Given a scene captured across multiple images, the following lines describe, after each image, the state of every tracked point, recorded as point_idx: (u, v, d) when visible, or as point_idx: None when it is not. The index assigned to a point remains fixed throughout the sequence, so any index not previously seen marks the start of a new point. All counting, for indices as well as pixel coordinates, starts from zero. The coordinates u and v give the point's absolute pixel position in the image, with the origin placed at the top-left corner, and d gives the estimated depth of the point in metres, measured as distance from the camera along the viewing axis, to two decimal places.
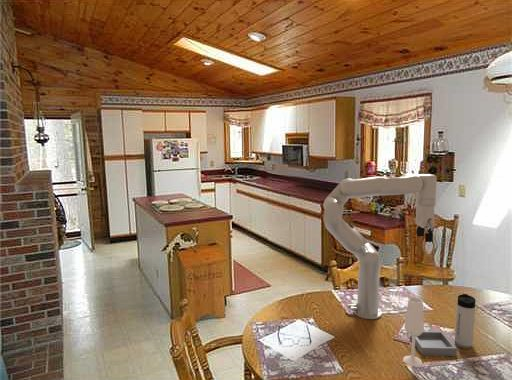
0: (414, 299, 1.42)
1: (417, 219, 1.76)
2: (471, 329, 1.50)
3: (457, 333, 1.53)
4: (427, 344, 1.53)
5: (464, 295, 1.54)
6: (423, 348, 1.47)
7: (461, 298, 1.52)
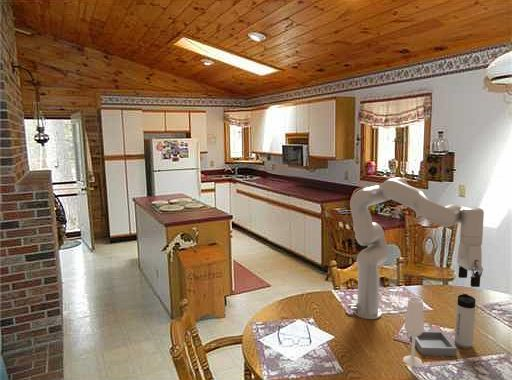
0: (414, 299, 1.42)
1: (460, 259, 1.52)
2: (471, 329, 1.50)
3: (457, 333, 1.53)
4: (427, 344, 1.53)
5: (464, 295, 1.54)
6: (423, 348, 1.47)
7: (461, 298, 1.52)
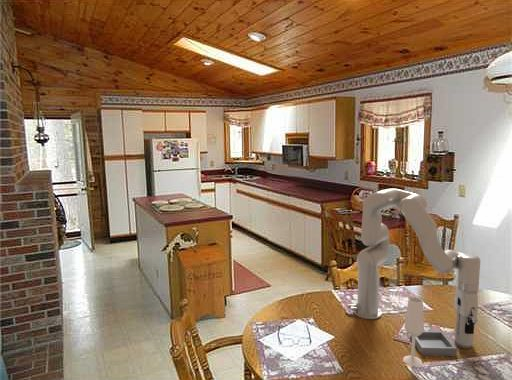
0: (414, 299, 1.42)
1: (456, 304, 1.54)
2: None
3: (457, 333, 1.53)
4: (427, 344, 1.53)
5: None
6: (423, 348, 1.47)
7: None
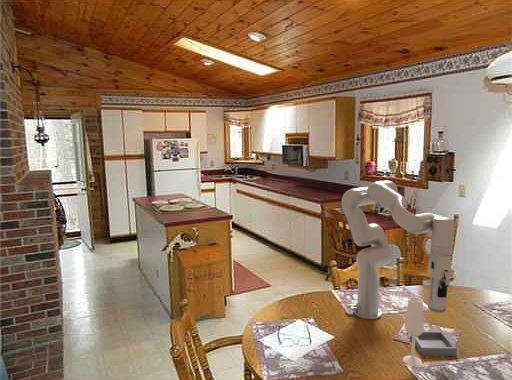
0: (414, 299, 1.42)
1: (430, 268, 1.51)
2: None
3: (430, 297, 1.50)
4: (427, 344, 1.53)
5: None
6: (423, 348, 1.47)
7: None
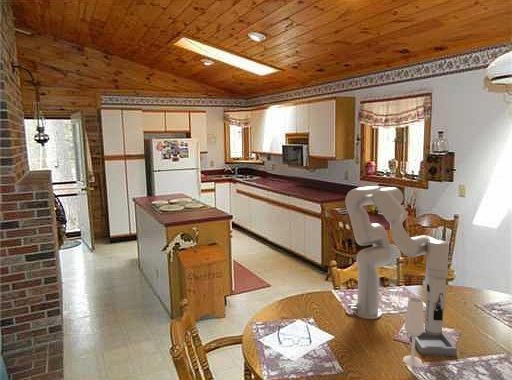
0: (414, 299, 1.42)
1: (426, 291, 1.52)
2: None
3: (426, 320, 1.51)
4: (427, 344, 1.53)
5: None
6: (423, 348, 1.47)
7: None
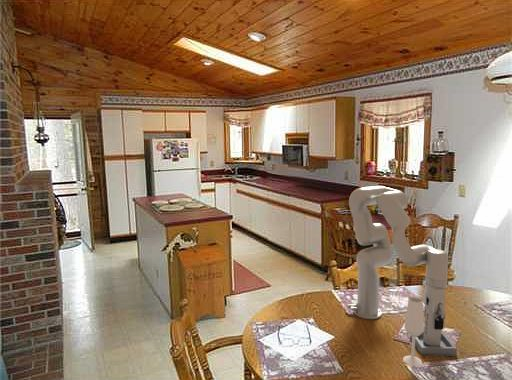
0: (414, 299, 1.42)
1: (425, 300, 1.53)
2: None
3: (425, 332, 1.52)
4: None
5: None
6: (423, 348, 1.47)
7: None
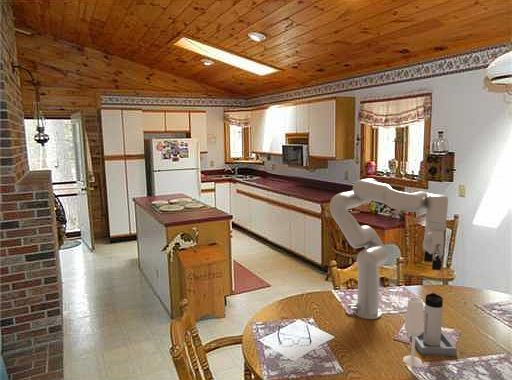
0: (414, 299, 1.42)
1: (425, 243, 1.59)
2: (438, 329, 1.49)
3: (425, 333, 1.52)
4: None
5: (432, 294, 1.53)
6: (423, 348, 1.47)
7: (429, 297, 1.51)
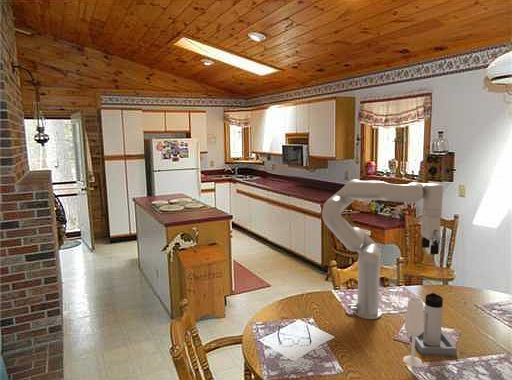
0: (414, 299, 1.42)
1: (422, 230, 1.69)
2: (438, 329, 1.49)
3: (425, 333, 1.52)
4: None
5: (432, 294, 1.53)
6: (423, 348, 1.47)
7: (429, 297, 1.51)
